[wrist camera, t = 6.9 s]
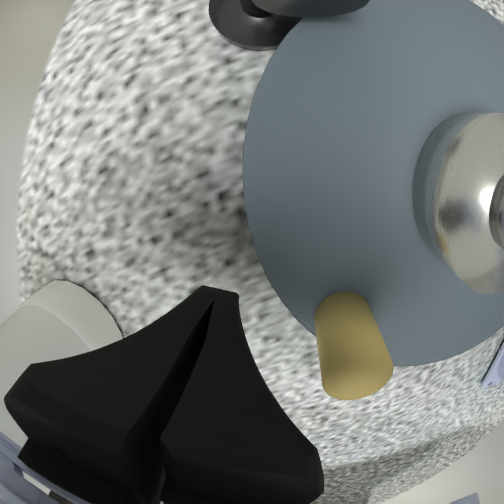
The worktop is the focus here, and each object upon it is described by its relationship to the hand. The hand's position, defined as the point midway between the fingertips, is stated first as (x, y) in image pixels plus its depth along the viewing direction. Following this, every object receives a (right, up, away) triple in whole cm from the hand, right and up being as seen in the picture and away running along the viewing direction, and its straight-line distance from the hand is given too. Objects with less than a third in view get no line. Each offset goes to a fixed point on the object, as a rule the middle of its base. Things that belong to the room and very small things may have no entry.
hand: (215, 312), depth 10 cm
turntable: (+10, +5, 0) cm, 11 cm away
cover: (+10, +5, -1) cm, 11 cm away
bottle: (-11, -3, +8) cm, 14 cm away
